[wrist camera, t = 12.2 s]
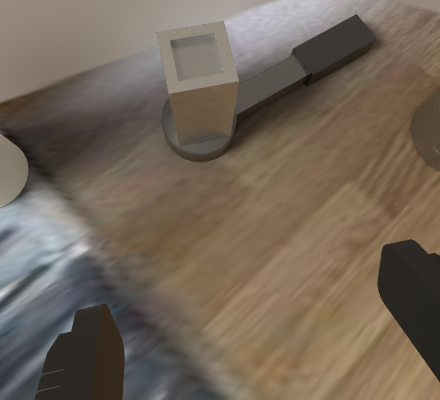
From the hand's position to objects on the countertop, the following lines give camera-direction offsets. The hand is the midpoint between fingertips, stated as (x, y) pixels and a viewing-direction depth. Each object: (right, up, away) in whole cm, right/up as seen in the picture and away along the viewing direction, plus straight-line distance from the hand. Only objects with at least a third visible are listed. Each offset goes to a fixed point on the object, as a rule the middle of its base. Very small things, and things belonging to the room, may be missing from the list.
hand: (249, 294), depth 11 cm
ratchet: (+4, +14, +28) cm, 31 cm away
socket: (-3, +10, +24) cm, 26 cm away
